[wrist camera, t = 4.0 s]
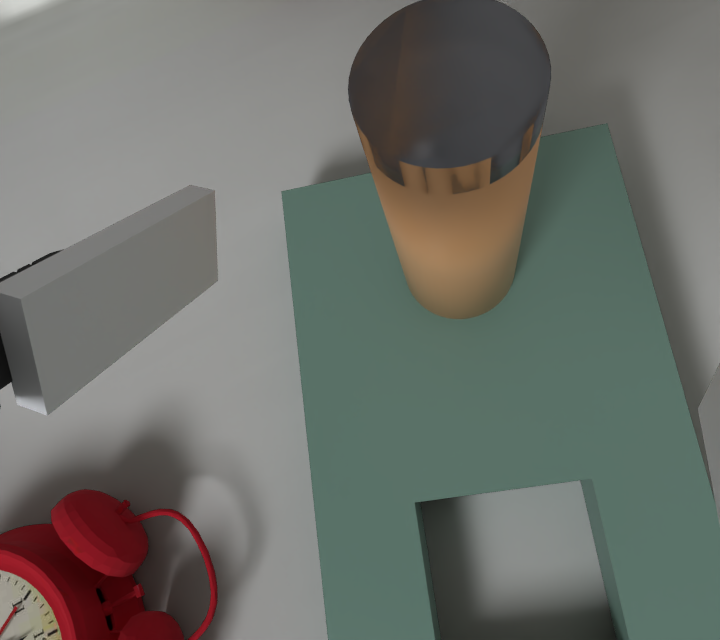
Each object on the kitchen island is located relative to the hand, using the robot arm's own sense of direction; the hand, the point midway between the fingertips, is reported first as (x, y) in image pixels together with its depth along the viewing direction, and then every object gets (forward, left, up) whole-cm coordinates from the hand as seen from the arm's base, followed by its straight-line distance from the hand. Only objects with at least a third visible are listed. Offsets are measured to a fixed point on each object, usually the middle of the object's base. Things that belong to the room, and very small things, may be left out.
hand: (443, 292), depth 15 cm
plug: (-4, +1, -9) cm, 10 cm away
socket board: (+2, +1, -11) cm, 12 cm away
